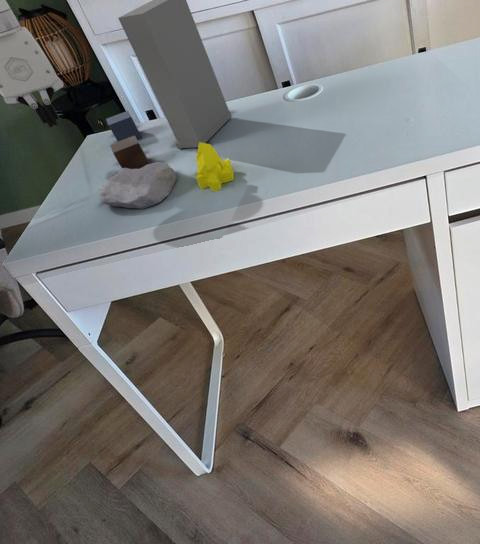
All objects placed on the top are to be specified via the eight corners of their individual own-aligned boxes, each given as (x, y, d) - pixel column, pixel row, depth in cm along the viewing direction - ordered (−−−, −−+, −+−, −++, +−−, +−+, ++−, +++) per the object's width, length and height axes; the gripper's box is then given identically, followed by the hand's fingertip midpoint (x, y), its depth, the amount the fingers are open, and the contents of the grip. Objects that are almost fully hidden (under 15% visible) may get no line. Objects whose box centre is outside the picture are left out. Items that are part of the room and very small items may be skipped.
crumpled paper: (233, 165, 89) (217, 125, 84) (233, 186, 83) (215, 144, 78) (202, 173, 89) (184, 134, 84) (200, 195, 83) (180, 154, 78)
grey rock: (165, 214, 84) (181, 174, 90) (149, 194, 80) (167, 154, 86) (107, 222, 87) (126, 183, 93) (88, 204, 83) (110, 164, 89)
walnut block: (126, 175, 95) (112, 152, 92) (122, 167, 99) (109, 144, 95) (151, 165, 96) (138, 142, 93) (146, 157, 100) (134, 135, 97)
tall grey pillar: (209, 119, 110) (157, -4, 94) (232, 117, 108) (183, -9, 92) (177, 149, 100) (113, 18, 84) (202, 148, 98) (142, 13, 82)
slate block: (120, 146, 108) (108, 125, 105) (117, 139, 111) (105, 118, 108) (142, 137, 109) (131, 116, 106) (138, 131, 113) (127, 110, 109)
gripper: (-55, 41, 82) (14, 143, 93) (38, 16, 86) (93, 116, 97) (-49, 35, 87) (15, 132, 99) (38, 12, 91) (90, 107, 103)
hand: (53, 124), depth 98 cm, fingers closed
